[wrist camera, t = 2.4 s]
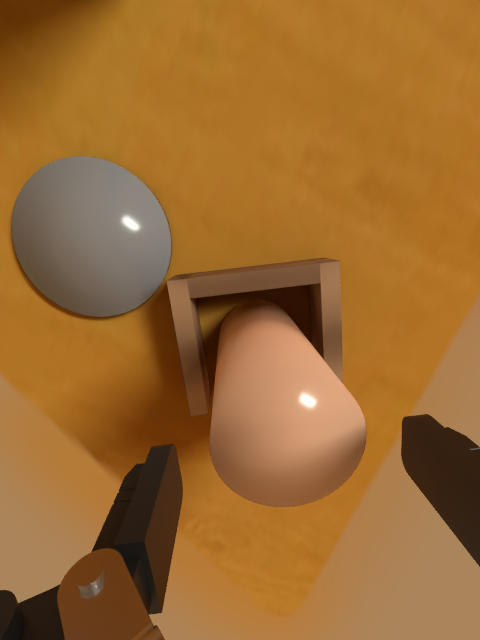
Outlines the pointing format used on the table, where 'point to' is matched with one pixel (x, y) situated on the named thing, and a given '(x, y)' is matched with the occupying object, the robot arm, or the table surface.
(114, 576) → the robot arm
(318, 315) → the wooden u-shaped frame
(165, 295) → the table surface
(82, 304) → the grey dome disc
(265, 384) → the peach cylinder with handle
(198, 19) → the table surface
